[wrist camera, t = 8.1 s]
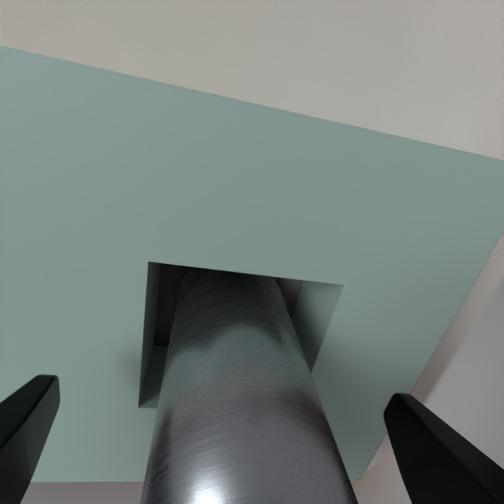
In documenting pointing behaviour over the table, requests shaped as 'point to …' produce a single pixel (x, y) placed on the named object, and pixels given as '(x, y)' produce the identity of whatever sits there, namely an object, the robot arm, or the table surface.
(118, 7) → the table surface
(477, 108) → the table surface
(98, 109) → the socket block
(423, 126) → the table surface
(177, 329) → the peg
